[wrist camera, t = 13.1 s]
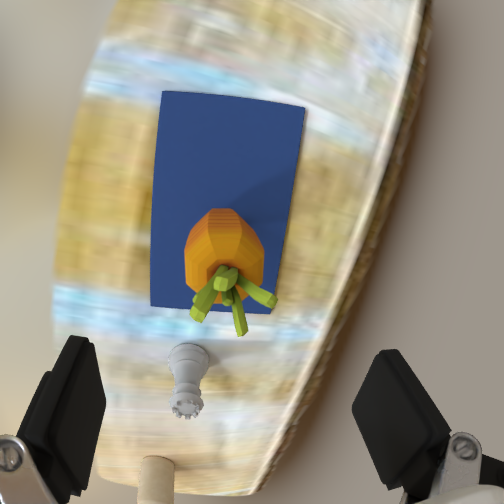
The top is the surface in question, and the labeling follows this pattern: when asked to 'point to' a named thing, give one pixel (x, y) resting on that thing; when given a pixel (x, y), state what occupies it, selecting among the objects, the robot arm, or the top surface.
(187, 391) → the rook chess piece
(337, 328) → the top surface
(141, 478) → the candle
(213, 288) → the carrot
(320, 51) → the top surface
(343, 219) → the top surface
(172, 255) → the napkin
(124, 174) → the top surface
